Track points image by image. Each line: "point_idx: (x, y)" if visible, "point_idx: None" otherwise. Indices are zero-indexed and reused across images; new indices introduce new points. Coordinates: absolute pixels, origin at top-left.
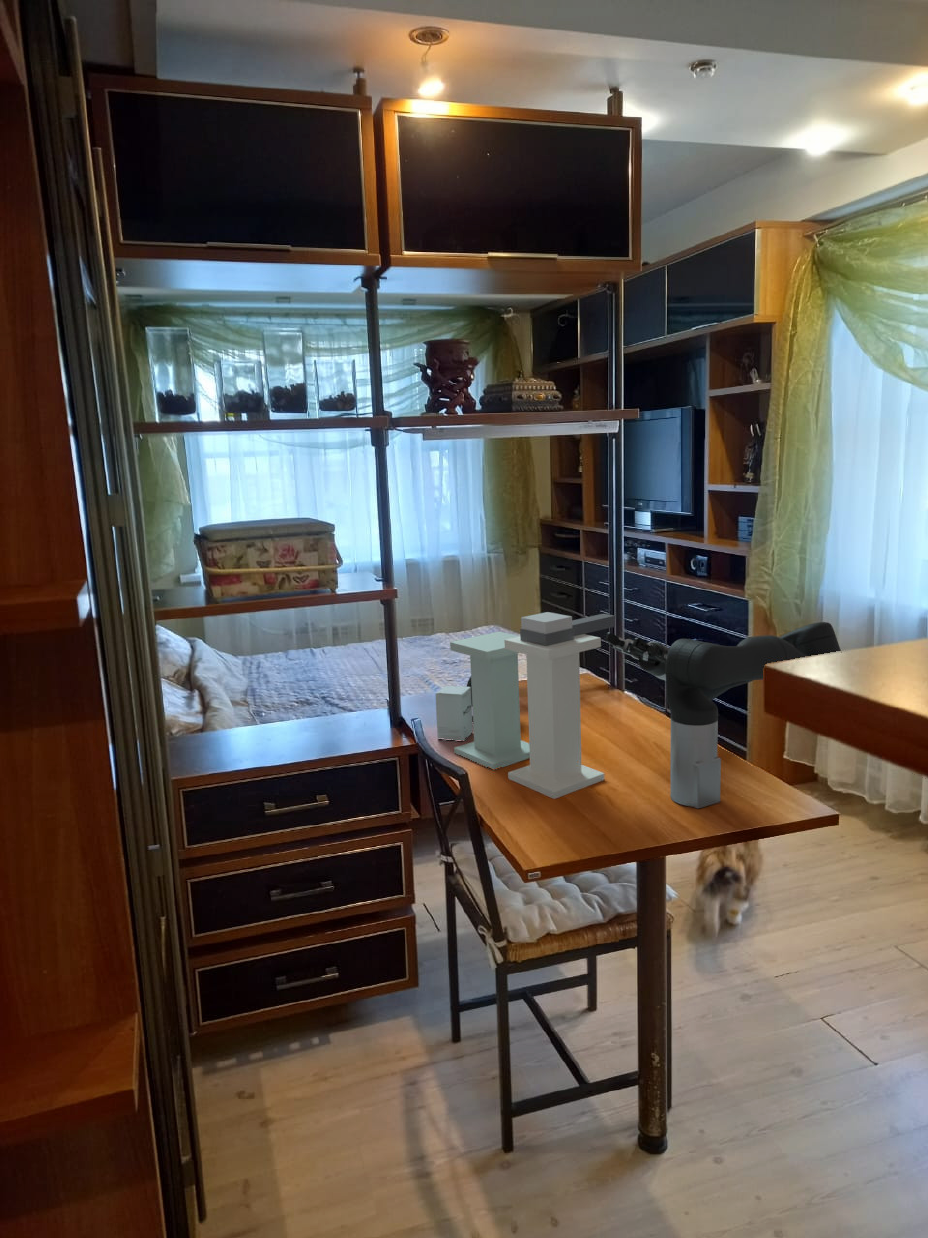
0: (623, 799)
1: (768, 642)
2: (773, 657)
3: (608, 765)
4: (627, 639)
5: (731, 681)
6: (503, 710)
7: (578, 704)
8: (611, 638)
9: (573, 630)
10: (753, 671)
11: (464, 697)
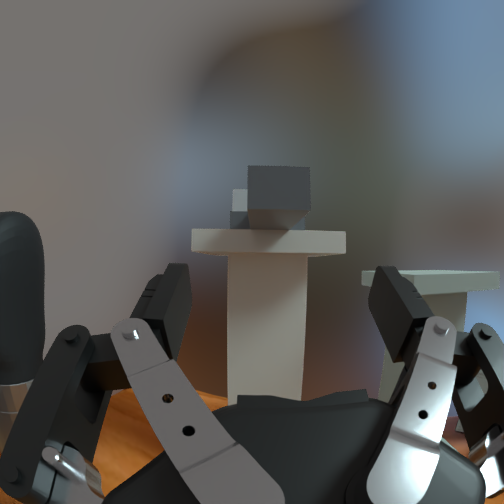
0: (136, 465)
1: None
2: None
3: None
4: (417, 357)
5: None
6: (389, 388)
7: (228, 370)
8: (382, 301)
9: (230, 215)
10: None
11: (479, 375)
